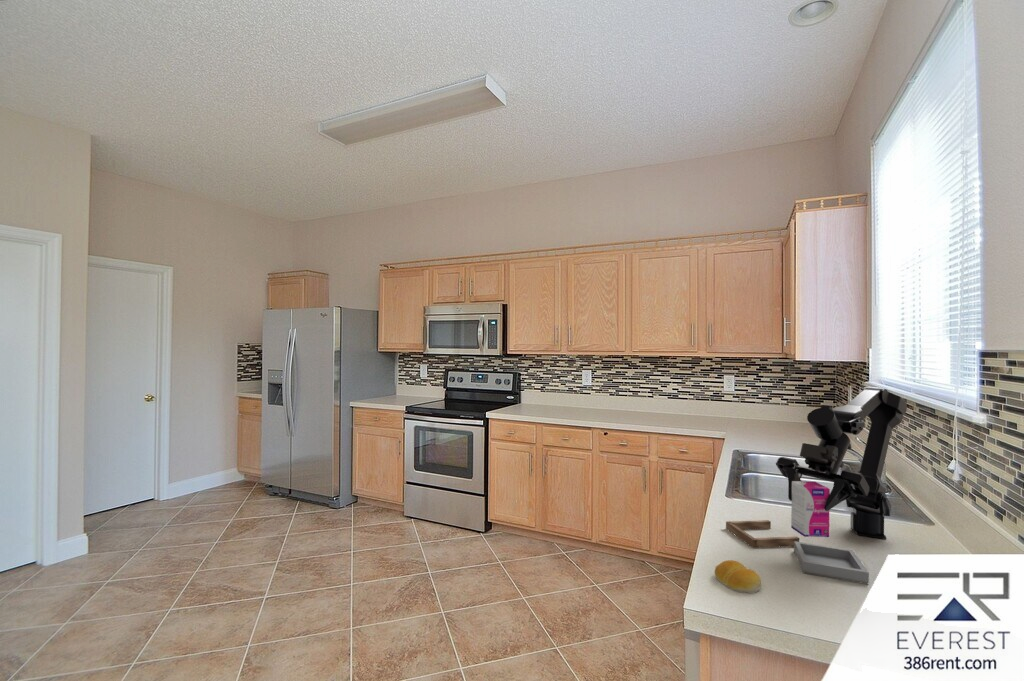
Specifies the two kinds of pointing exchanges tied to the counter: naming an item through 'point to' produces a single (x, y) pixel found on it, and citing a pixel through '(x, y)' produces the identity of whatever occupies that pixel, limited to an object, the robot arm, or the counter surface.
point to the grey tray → (830, 562)
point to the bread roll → (737, 577)
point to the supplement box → (810, 509)
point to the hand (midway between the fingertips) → (807, 504)
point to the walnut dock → (738, 528)
